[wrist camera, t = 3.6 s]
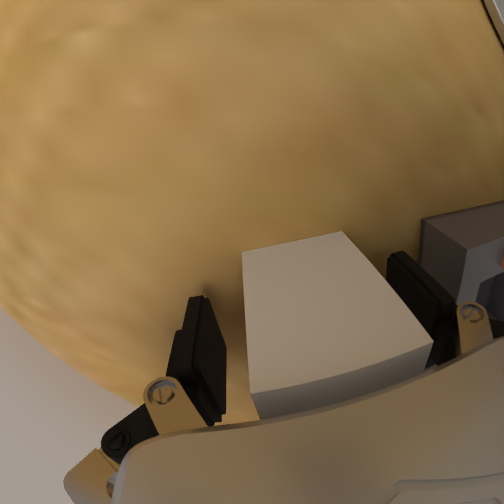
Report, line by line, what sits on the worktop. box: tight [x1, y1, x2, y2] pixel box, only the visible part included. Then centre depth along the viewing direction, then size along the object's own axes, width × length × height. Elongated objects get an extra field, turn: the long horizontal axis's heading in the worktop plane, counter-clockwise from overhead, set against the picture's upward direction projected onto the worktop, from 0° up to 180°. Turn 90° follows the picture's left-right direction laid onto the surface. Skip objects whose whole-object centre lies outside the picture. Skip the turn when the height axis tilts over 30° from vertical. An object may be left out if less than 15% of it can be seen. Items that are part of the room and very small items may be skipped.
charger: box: [242, 231, 434, 420], centre depth 9 cm, size 4×4×7 cm
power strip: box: [419, 201, 504, 373], centre depth 13 cm, size 17×16×4 cm
